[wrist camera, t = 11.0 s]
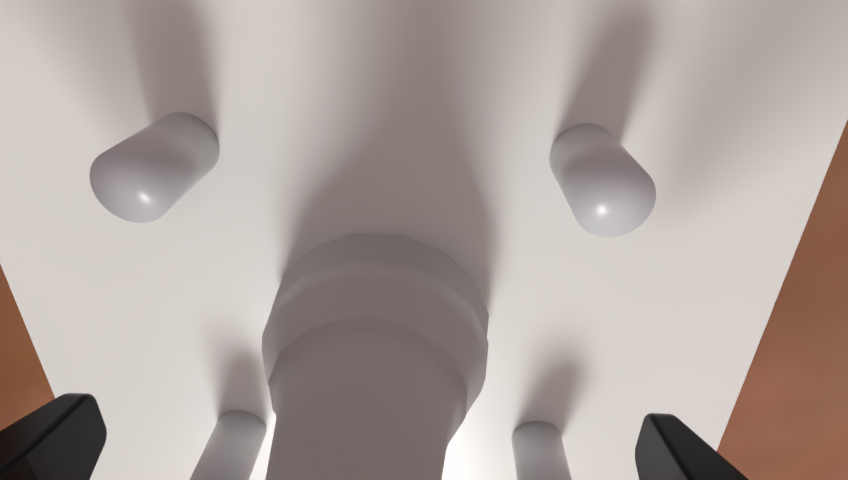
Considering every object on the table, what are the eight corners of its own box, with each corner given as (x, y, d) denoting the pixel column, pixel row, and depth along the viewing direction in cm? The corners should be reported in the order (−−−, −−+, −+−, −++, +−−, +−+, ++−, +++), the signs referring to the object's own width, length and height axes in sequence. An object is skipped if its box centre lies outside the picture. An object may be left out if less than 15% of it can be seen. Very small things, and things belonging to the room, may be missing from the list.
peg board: (116, 467, 16) (49, 572, 13) (-71, -41, 9) (-270, -37, 7) (674, 488, 15) (722, 601, 13) (856, -20, 9) (1025, -8, 6)
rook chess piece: (499, 381, 12) (575, 966, 5) (311, 403, 13) (144, 962, 6) (472, 204, 10) (535, 769, 3) (248, 238, 11) (-131, 791, 4)
